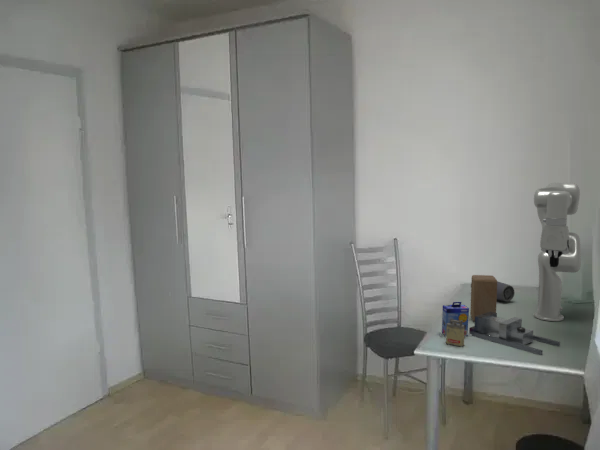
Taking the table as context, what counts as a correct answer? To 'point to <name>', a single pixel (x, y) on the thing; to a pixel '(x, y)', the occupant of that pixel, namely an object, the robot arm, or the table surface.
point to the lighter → (455, 333)
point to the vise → (480, 332)
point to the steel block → (493, 326)
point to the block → (483, 295)
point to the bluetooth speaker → (504, 292)
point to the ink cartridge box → (455, 316)
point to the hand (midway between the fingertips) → (553, 266)
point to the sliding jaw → (515, 331)
